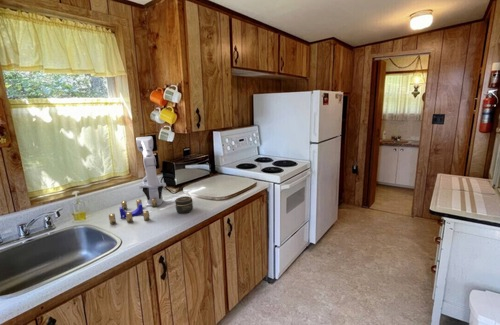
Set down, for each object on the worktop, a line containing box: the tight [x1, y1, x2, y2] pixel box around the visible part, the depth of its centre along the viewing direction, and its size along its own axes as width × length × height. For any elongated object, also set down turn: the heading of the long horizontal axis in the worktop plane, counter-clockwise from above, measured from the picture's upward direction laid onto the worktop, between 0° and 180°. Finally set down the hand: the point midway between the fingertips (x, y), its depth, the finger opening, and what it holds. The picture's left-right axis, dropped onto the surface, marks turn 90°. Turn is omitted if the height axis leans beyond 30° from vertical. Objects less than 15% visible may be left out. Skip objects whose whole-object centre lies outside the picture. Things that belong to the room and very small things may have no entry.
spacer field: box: [108, 198, 158, 225], centre depth 154 cm, size 21×23×5 cm
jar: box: [174, 195, 194, 215], centre depth 155 cm, size 10×10×8 cm
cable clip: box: [119, 203, 144, 219], centre depth 153 cm, size 12×4×6 cm, turn 118°
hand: (154, 199), depth 154 cm, fingers open, 6 cm apart
